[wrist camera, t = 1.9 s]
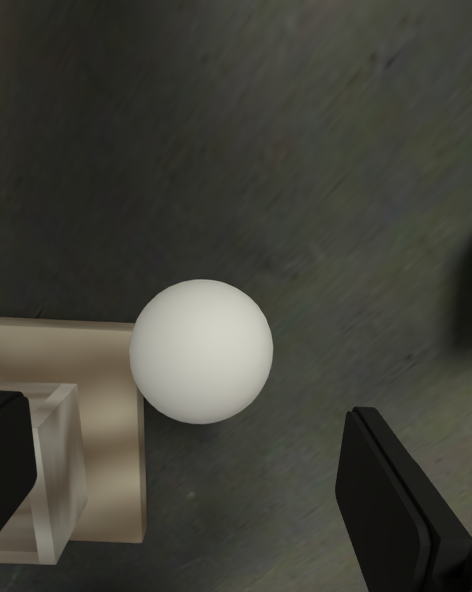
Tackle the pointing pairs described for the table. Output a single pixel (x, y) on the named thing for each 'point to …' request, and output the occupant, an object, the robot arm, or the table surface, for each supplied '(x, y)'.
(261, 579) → the table surface
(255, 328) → the lightbulb
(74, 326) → the socket
